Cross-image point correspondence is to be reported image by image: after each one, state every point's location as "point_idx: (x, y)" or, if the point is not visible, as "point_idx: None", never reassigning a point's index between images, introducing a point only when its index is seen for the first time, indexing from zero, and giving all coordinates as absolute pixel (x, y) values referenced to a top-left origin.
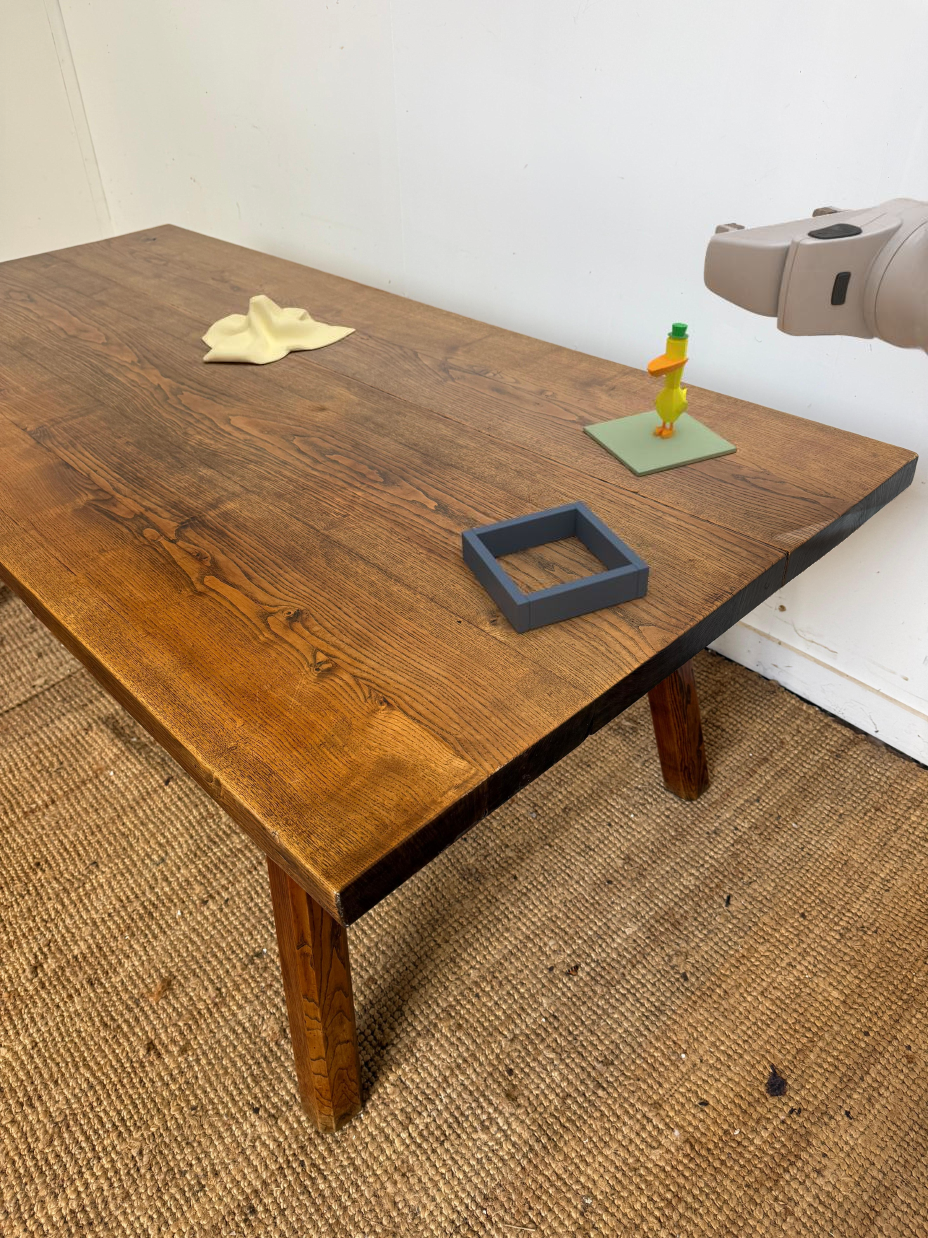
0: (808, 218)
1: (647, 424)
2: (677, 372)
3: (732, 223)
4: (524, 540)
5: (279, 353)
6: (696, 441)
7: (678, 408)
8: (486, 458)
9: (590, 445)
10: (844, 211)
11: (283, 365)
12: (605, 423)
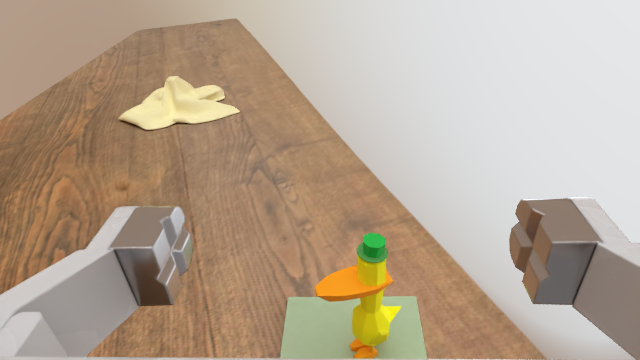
0: None
1: None
2: (368, 298)
3: (162, 211)
4: None
5: (167, 123)
6: None
7: (372, 338)
8: (159, 309)
9: (273, 331)
10: (629, 264)
11: (158, 134)
12: (314, 300)
